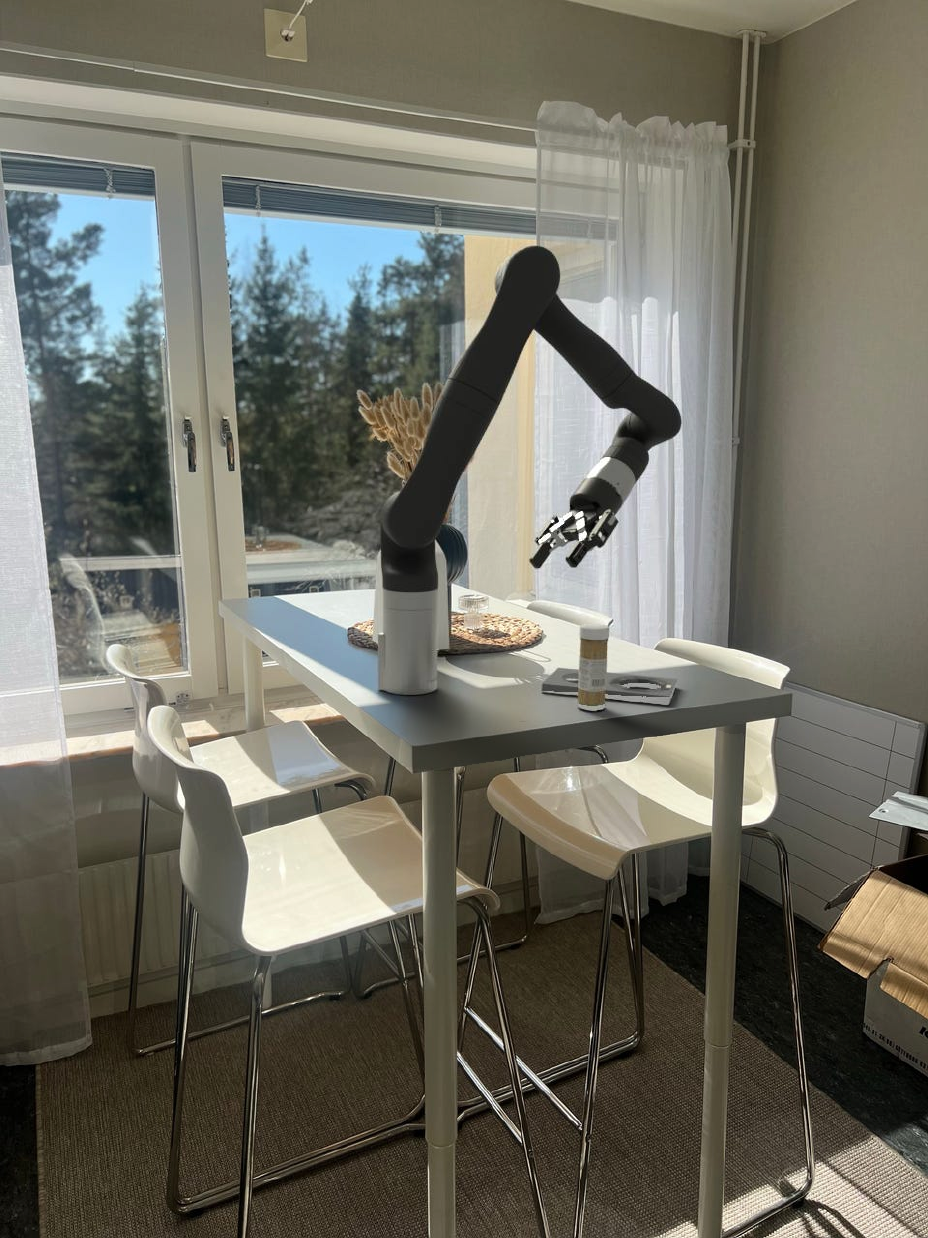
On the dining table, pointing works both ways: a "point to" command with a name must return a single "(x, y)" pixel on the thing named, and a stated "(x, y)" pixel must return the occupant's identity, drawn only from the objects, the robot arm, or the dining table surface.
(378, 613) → the milk
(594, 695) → the sprinkles bottle
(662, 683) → the socket board
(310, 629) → the dining table surface
